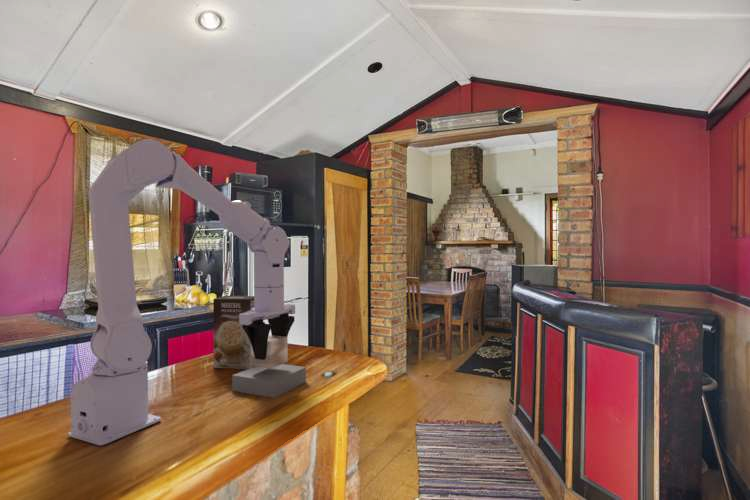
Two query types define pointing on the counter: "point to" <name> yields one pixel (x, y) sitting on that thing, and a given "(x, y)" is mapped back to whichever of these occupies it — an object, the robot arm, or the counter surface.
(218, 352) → the coffee box
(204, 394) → the counter surface
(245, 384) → the base
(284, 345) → the cube
